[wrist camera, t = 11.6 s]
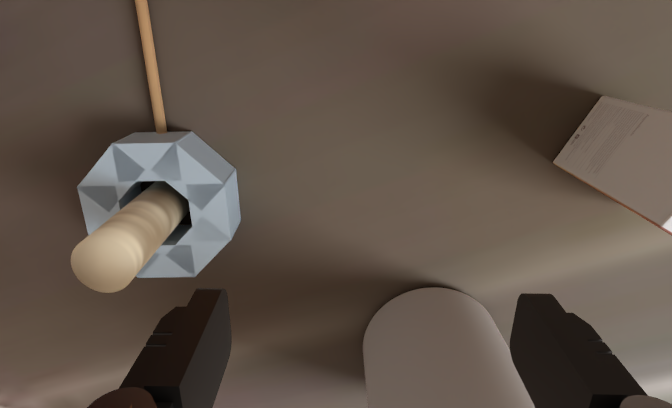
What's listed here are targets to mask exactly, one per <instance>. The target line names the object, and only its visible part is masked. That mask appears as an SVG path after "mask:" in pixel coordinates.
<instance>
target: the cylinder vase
mask: <svg viewBox="0 0 672 408" xmlns="http://www.w3.org/2000/svg"><path fill="white" fill-rule="evenodd" d="M363 358H364V369H365V380H366V391H367V403H368V408H535V406H534V404H533V402H532V400H531V398H530V396H529V394H528V392H527V390H526V388H525V386H524V384H523V382H522V380H521V378H520V376H519V374H518V372H517V370H516V368H515V366H514V364H513V361H512V358H511V353H510V350H509V348H508V346H507V344H506V343H505V341H504V339H503V337H502V335H501V334H500V332H499V330H498V328H497V326H496V325H495V323H494V321H493V319H492V317H491V316H490V314H489V313H488V312H487V310H486V309H485V308H484V307H483V306H482V305H481V304H480V303H479V302H477V301H476V300H475V299H473V298H472V297H470V296H468V295H466V294H464V293H462V292H459V291H456V290H452V289H447V288H439V287H429V288H421V289H416V290H412V291H409V292H406V293H403V294H401V295H399V296H397V297H395V298H393V299H392V300H390V301H389V302H388V303H386V304H385V305H384V306H383V307H382V308H380V309H379V311H378V312H377V313H376V314H375V315H374V317H373V318H372V320H371V321H370V323H369V325H368V327H367V329H366V332H365V335H364V340H363Z"/></svg>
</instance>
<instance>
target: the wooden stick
mask: <svg viewBox="0 0 672 408" xmlns="http://www.w3.org/2000/svg"><path fill="white" fill-rule="evenodd" d="M135 4H136V10H137V16H138V22H139V28H140V35H141V41H142V47H143V53H144V59H145V66H146V72H147V78H148V84H149V90H150V96H151V103H152V109H153V115H154V121H155V127H156V133H157V134H164V133H167V127H166V121H165V114H164V107H163V101H162V94H161V88H160V81H159V75H158V68H157V62H156V55H155V48H154V42H153V35H152V29H151V22H150V16H149V9H148V3H147V0H135Z"/></svg>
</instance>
